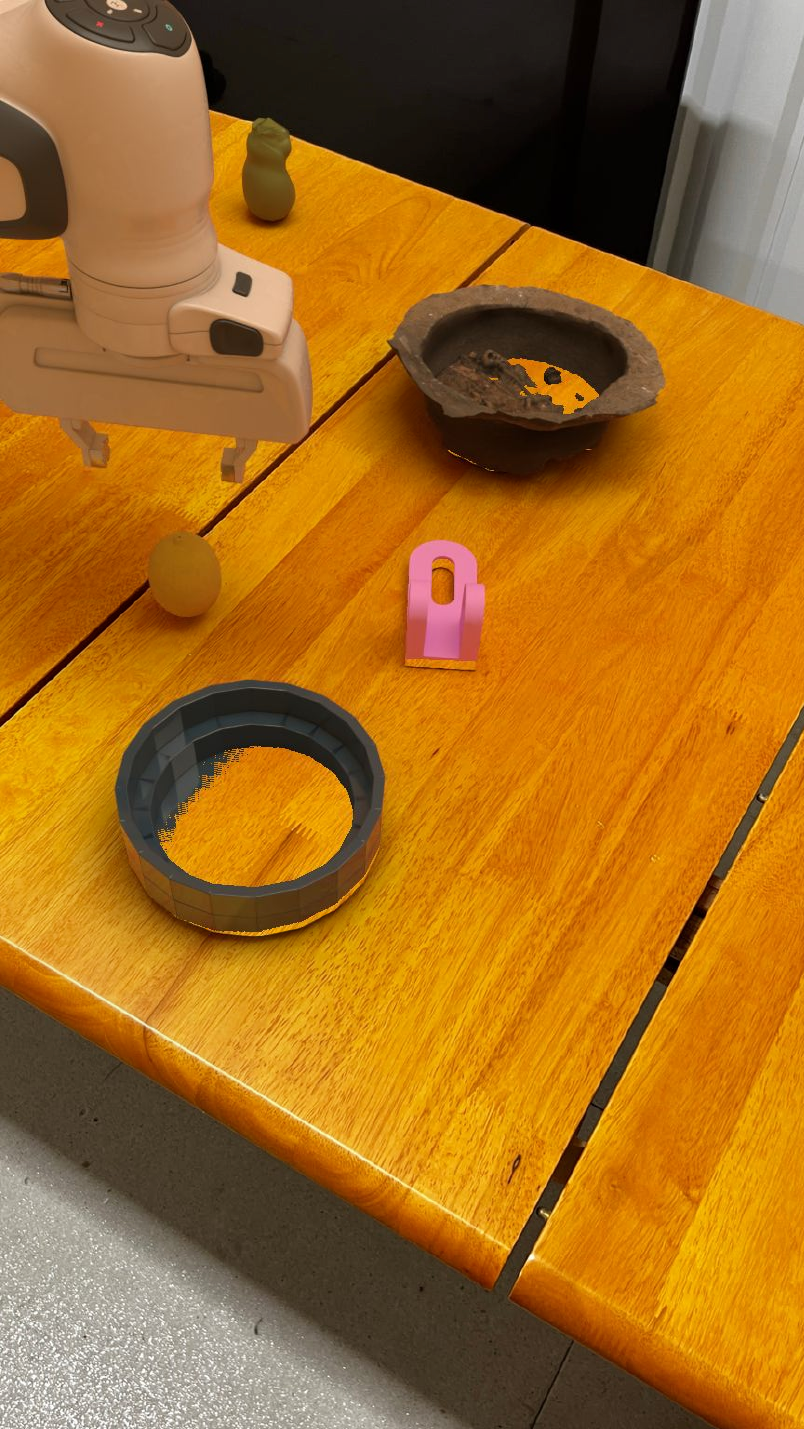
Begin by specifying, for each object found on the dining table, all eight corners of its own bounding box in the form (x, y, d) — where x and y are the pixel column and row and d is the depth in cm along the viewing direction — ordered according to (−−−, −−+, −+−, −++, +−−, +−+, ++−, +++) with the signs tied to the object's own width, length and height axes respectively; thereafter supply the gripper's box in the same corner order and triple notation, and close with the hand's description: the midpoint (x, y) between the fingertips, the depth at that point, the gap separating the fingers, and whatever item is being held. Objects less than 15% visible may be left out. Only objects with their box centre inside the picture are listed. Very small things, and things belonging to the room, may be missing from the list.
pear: (234, 212, 130) (228, 116, 122) (273, 197, 133) (270, 102, 125) (266, 236, 128) (262, 140, 120) (306, 220, 131) (305, 125, 122)
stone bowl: (456, 531, 105) (461, 439, 97) (350, 377, 119) (347, 286, 111) (702, 466, 112) (724, 376, 104) (574, 328, 125) (585, 240, 118)
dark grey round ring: (104, 931, 80) (89, 884, 76) (153, 722, 91) (143, 669, 86) (370, 952, 81) (373, 907, 76) (389, 742, 91) (393, 691, 86)
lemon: (222, 584, 99) (215, 509, 93) (226, 635, 96) (219, 561, 90) (153, 588, 98) (140, 513, 92) (155, 639, 95) (142, 565, 89)
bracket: (475, 671, 96) (484, 609, 90) (404, 666, 96) (409, 604, 90) (475, 554, 104) (484, 491, 98) (409, 550, 103) (414, 486, 98)
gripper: (-42, 299, 72) (3, 483, 83) (306, 340, 73) (304, 515, 84) (-14, 240, 75) (26, 423, 87) (317, 280, 77) (314, 455, 88)
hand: (166, 469), depth 85 cm, fingers open, 8 cm apart
